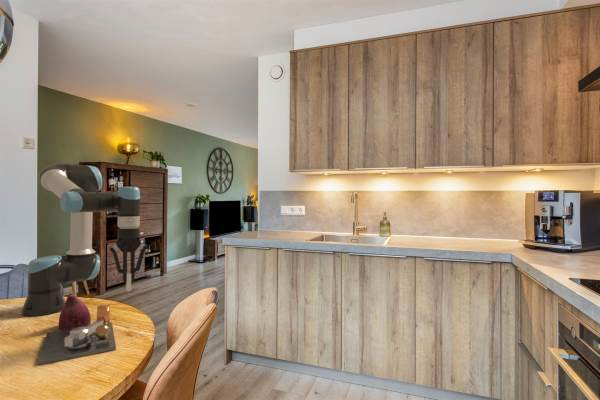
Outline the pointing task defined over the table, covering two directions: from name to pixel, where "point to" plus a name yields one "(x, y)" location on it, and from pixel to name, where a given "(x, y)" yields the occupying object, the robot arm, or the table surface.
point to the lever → (88, 327)
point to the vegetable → (74, 314)
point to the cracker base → (58, 351)
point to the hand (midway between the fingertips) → (128, 290)
